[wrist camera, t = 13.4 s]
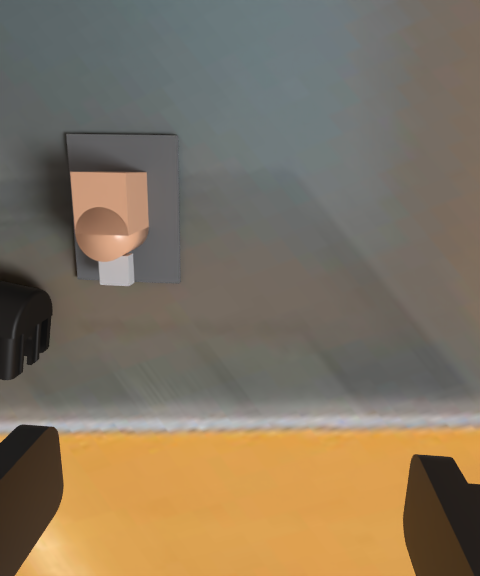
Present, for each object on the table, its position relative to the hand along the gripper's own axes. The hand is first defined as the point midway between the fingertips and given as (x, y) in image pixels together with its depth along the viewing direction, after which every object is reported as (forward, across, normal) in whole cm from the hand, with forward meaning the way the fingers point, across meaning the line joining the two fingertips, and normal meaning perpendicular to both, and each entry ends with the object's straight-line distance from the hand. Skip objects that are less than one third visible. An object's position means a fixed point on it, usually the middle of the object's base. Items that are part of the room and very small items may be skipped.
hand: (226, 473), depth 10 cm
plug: (+28, +12, -2) cm, 30 cm away
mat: (+28, +12, -3) cm, 31 cm away
